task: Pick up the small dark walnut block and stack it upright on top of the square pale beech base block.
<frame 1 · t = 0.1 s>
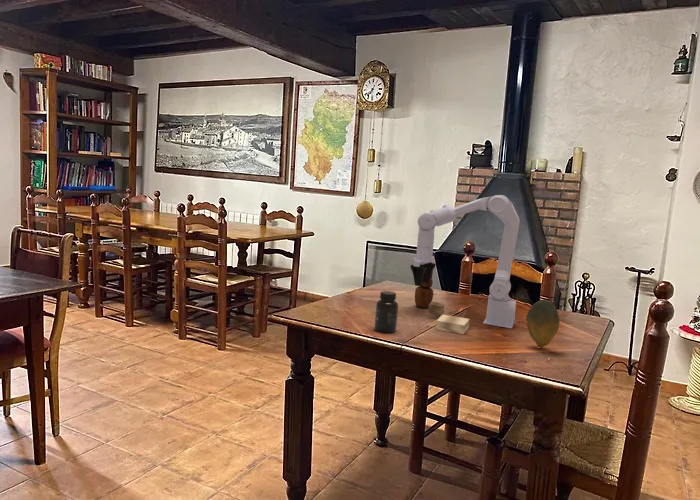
hand: (421, 284, 190), 10 cm above the table, tool pointing down, fingers open, 7 cm apart
wooden figurine: (422, 307, 198), on the table
supplement bottle: (385, 330, 165), on the table
base block: (452, 328, 172), on the table
walnut block: (435, 317, 184), on the table
mango: (538, 349, 157), on the table
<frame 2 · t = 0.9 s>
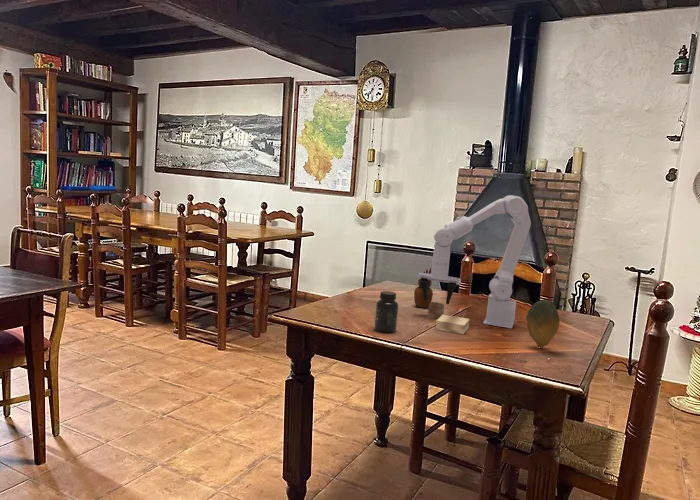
hand: (436, 301, 183), 6 cm above the table, tool pointing down, fingers open, 7 cm apart
nothing on the table moved.
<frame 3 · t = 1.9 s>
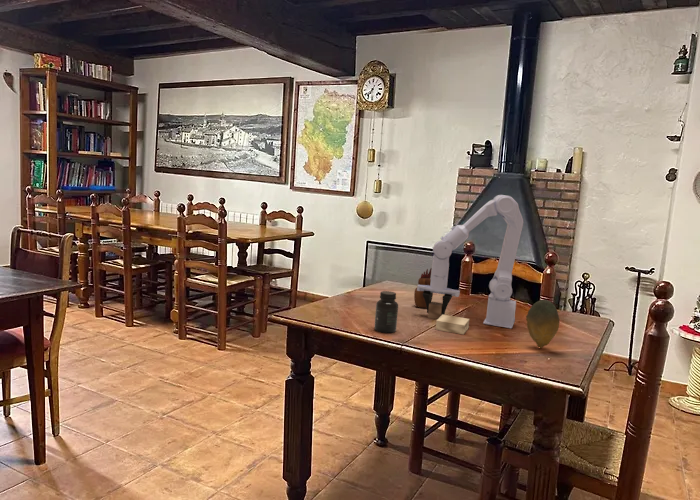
hand: (435, 313, 184), 1 cm above the table, tool pointing down, fingers closed on walnut block, 4 cm apart
walnut block: (435, 317, 184), on the table, touching gripper
everything else where it was.
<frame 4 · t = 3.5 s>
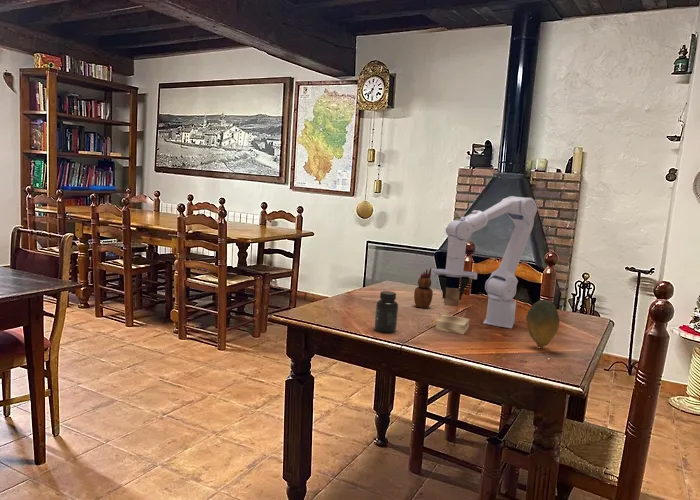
hand: (451, 298, 173), 9 cm above the table, tool pointing down, fingers closed on walnut block, 4 cm apart
walnut block: (450, 304, 173), point 7 cm above the table, touching gripper
everything else where it was.
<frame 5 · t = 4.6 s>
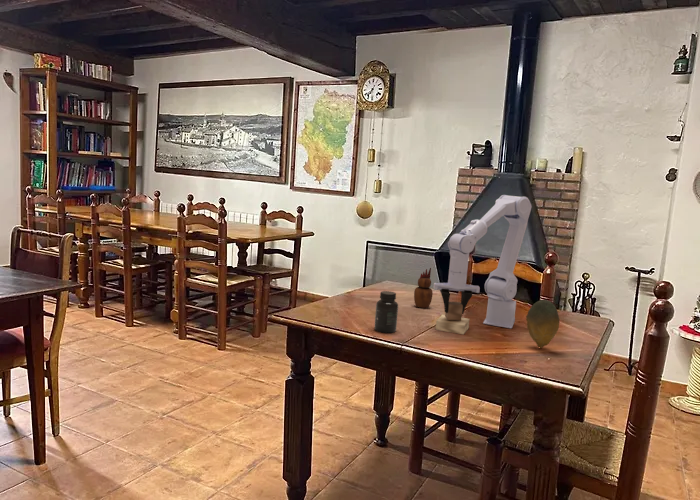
hand: (453, 312, 171), 5 cm above the table, tool pointing down, fingers closed on walnut block, 4 cm apart
walnut block: (453, 318, 171), point 3 cm above the table, touching gripper
everything else where it was.
when the fingers open (5 cm above the table, at t = 5.2 s): walnut block stays where it is, resting on base block.
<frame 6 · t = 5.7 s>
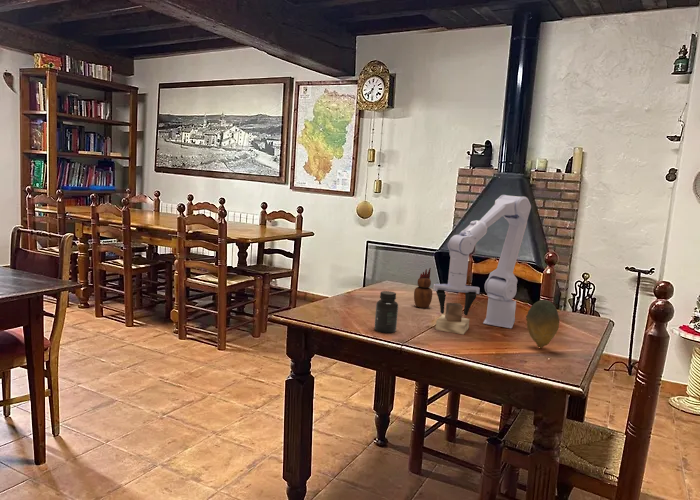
hand: (453, 313, 171), 5 cm above the table, tool pointing down, fingers open, 7 cm apart
walnut block: (453, 319, 171), point 3 cm above the table, touching base block
everything else where it was.
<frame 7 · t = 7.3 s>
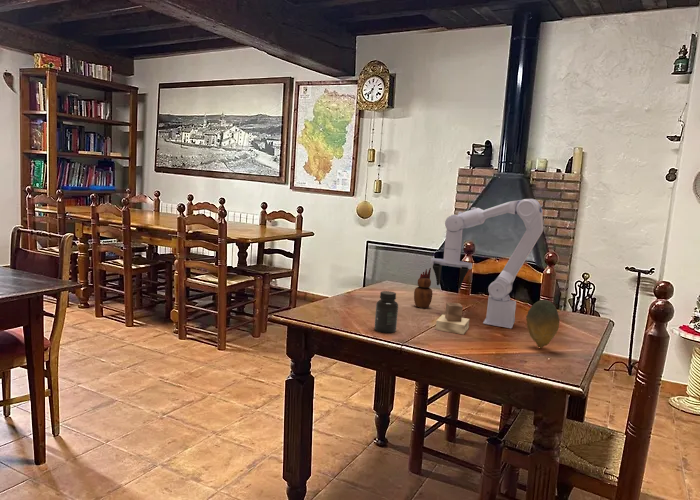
hand: (448, 286, 188), 10 cm above the table, tool pointing down, fingers open, 7 cm apart
nothing on the table moved.
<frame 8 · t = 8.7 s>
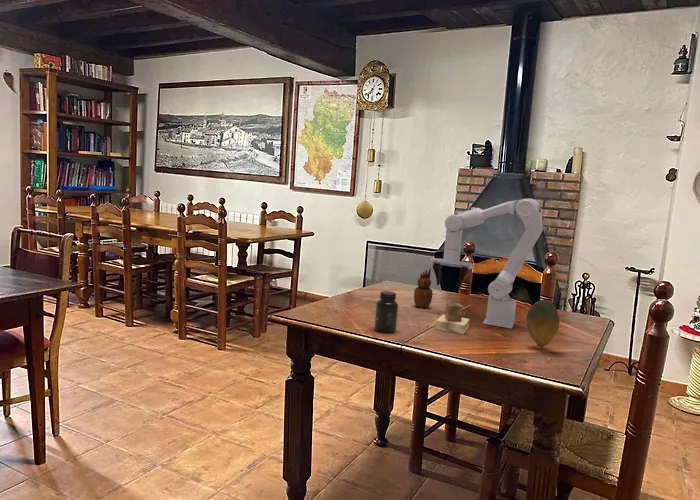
hand: (448, 286, 189), 10 cm above the table, tool pointing down, fingers open, 7 cm apart
nothing on the table moved.
at the end: walnut block 0.2 cm off-centre on the base block, point 3.0 cm above the base block's base; walnut block tilted 0°; the gripper is holding nothing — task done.
